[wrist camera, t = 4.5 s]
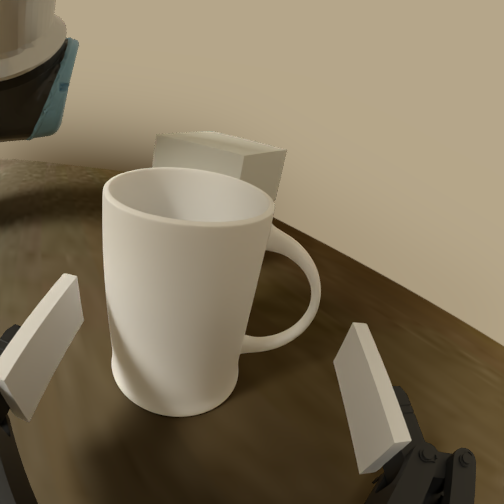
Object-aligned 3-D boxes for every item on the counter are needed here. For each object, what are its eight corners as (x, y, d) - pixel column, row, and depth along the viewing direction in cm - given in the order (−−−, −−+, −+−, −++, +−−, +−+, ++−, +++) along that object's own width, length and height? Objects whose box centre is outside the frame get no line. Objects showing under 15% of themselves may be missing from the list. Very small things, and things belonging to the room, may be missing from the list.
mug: (288, 350, 23) (339, 200, 17) (278, 446, 15) (366, 273, 10) (142, 310, 23) (148, 158, 18) (90, 388, 16) (57, 199, 10)
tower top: (150, 191, 31) (156, 134, 28) (204, 176, 39) (212, 131, 36) (231, 221, 28) (244, 155, 25) (275, 199, 36) (287, 149, 33)
